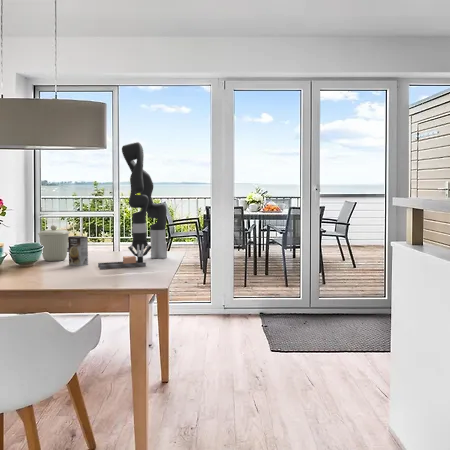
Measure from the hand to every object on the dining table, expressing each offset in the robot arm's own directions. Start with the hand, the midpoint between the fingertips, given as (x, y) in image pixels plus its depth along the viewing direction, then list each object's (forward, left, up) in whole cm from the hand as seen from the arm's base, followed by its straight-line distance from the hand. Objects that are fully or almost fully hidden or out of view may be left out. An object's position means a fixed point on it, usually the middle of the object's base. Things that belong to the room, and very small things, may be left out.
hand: (140, 263), depth 275 cm
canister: (+43, -47, -2) cm, 64 cm away
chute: (+10, 0, -2) cm, 10 cm away
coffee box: (+31, -22, -2) cm, 38 cm away
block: (+6, 0, -1) cm, 6 cm away
